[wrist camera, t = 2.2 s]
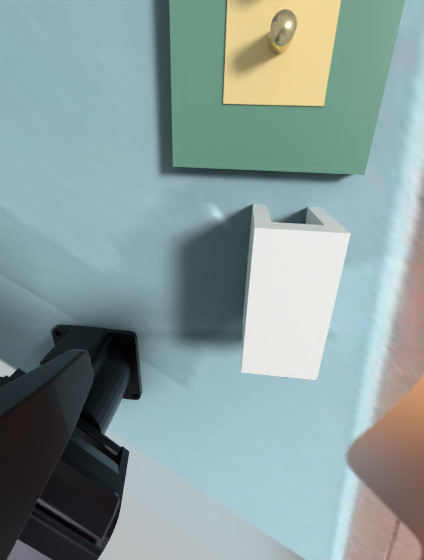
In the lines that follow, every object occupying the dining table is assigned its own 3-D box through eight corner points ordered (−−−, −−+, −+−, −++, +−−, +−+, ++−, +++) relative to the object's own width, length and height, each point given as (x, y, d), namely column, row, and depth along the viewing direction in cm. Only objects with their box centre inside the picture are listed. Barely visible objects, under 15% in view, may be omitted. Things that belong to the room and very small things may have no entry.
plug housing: (300, 323, 21) (316, 380, 16) (242, 318, 21) (241, 372, 16) (321, 207, 18) (350, 233, 13) (252, 203, 18) (254, 227, 13)
